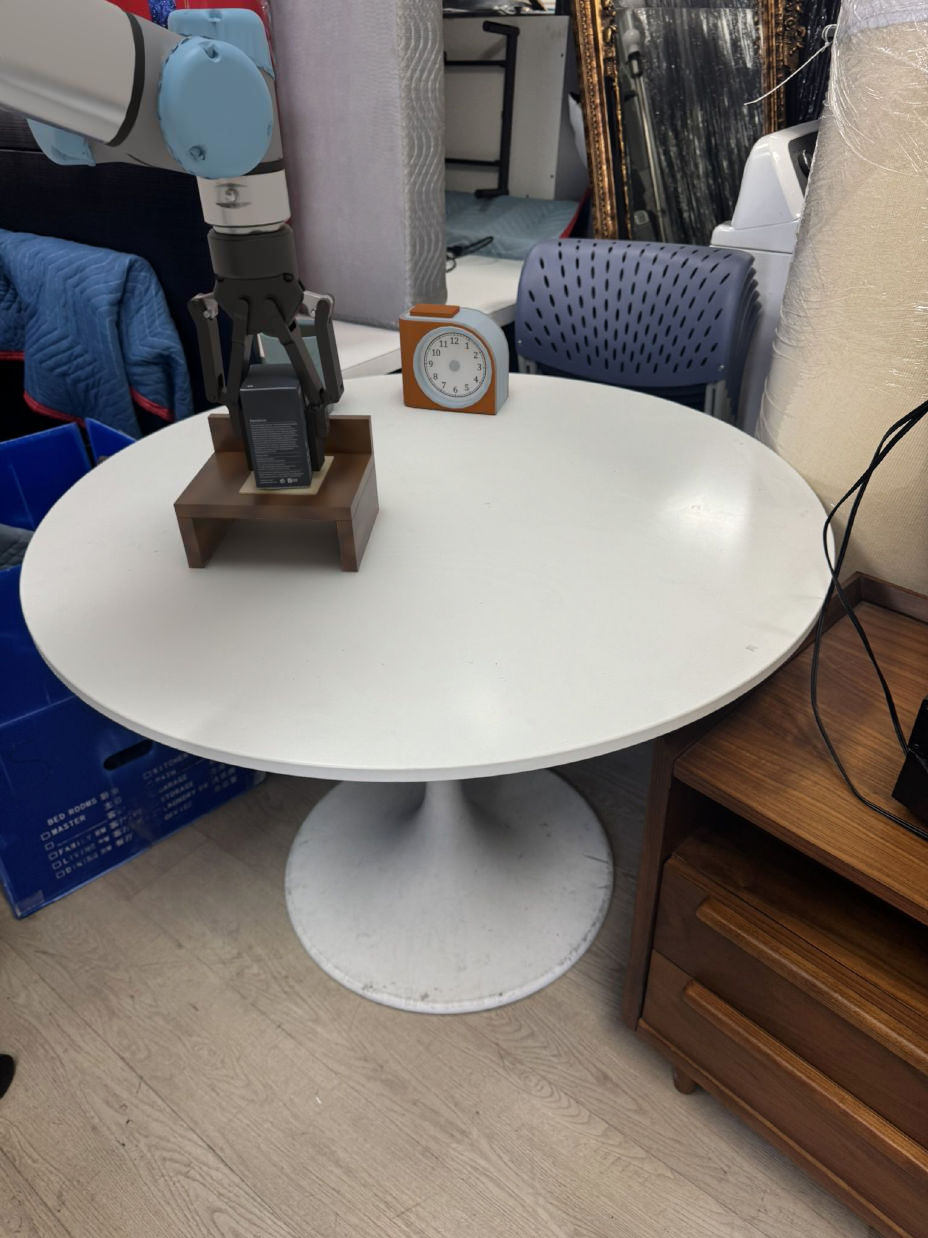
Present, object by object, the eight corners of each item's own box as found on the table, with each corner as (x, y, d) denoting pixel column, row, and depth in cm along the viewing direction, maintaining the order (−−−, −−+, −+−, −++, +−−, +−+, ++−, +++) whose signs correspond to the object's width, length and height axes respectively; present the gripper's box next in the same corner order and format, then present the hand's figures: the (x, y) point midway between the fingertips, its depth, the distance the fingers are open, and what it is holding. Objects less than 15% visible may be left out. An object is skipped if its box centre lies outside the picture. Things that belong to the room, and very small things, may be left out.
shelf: (188, 567, 86) (163, 467, 79) (229, 505, 97) (210, 413, 91) (357, 571, 85) (346, 469, 78) (379, 508, 96) (370, 414, 89)
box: (312, 488, 83) (297, 386, 77) (256, 490, 83) (236, 389, 77) (318, 456, 90) (305, 360, 84) (266, 458, 89) (249, 362, 83)
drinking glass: (259, 409, 123) (245, 328, 116) (315, 392, 128) (305, 313, 121) (296, 428, 116) (284, 343, 109) (353, 409, 122) (345, 327, 115)
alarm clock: (399, 407, 122) (393, 313, 115) (417, 387, 129) (413, 298, 121) (494, 415, 119) (495, 320, 111) (508, 395, 125) (510, 304, 118)
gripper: (128, 234, 70) (186, 479, 83) (346, 232, 69) (370, 482, 82) (161, 218, 76) (210, 449, 90) (362, 216, 75) (382, 451, 88)
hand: (287, 465), depth 86 cm, fingers closed on box, 6 cm apart
